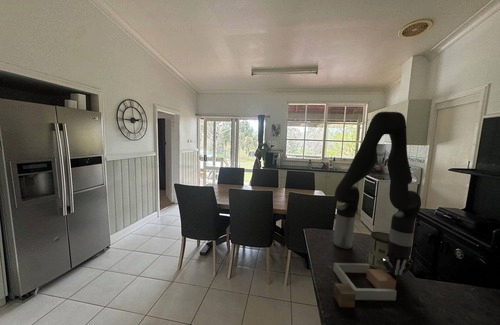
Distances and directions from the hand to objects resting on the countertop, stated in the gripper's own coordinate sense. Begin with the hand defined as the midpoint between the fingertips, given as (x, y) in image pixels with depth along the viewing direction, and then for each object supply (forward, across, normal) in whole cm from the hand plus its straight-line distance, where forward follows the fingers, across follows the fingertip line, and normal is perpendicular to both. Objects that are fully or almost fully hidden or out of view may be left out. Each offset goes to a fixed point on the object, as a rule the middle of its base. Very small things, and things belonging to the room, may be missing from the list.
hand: (394, 281), depth 81 cm
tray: (+1, +14, 0) cm, 14 cm away
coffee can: (+2, -4, -13) cm, 14 cm away
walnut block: (+1, +26, +9) cm, 27 cm away
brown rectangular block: (+1, +6, 0) cm, 6 cm away
